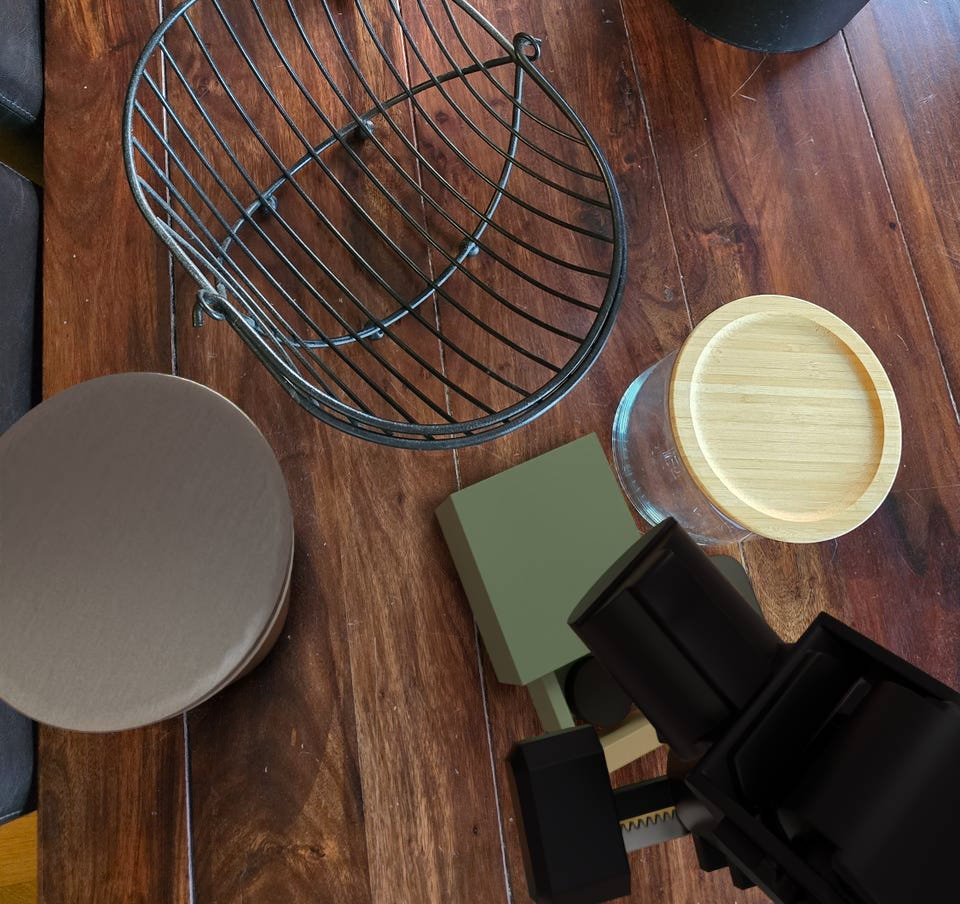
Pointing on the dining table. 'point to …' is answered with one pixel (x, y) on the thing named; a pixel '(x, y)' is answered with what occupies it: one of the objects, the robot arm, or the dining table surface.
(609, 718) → the black rubber puck
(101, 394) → the round grey canister
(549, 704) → the drawer
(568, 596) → the cabinet
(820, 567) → the dining table surface
